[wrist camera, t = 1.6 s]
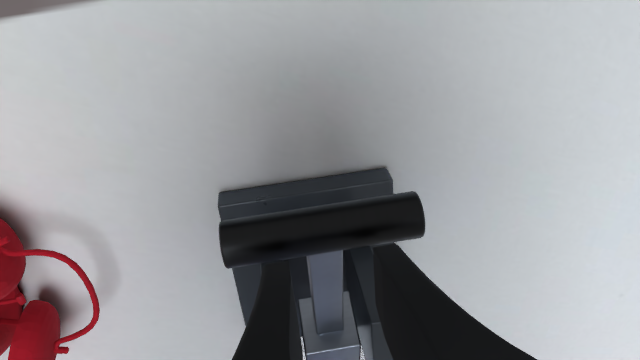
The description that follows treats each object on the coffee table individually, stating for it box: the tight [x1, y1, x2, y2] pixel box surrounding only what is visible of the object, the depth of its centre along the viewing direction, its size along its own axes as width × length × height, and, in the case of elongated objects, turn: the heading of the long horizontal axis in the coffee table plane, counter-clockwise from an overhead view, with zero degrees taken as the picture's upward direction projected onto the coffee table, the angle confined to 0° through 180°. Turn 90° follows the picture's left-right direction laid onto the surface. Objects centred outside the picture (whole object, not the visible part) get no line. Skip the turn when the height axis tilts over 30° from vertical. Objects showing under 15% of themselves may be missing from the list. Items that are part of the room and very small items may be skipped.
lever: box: [219, 191, 425, 360], centre depth 19 cm, size 10×6×2 cm, turn 5°
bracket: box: [218, 168, 394, 360], centre depth 23 cm, size 9×8×7 cm
